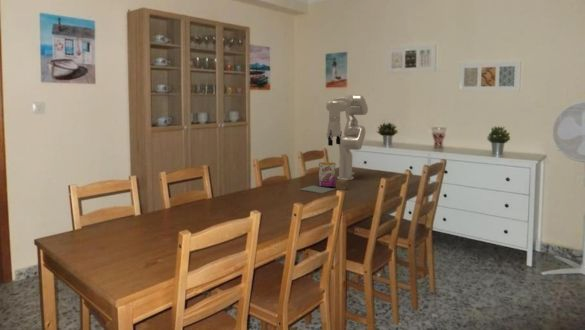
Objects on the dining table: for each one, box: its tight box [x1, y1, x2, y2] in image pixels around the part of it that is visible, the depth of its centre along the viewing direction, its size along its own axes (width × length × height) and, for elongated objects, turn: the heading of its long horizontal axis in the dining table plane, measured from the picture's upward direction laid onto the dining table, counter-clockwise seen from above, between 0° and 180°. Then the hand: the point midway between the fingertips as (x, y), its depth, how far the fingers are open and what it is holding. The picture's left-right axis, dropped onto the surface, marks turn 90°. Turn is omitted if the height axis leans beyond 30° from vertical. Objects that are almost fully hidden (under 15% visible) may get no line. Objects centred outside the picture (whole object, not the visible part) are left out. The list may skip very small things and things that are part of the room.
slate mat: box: [299, 185, 336, 195], centre depth 290 cm, size 15×18×1 cm
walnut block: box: [335, 179, 348, 191], centre depth 293 cm, size 6×6×6 cm
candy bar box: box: [317, 161, 336, 188], centre depth 299 cm, size 11×5×16 cm, turn 85°
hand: (334, 144), depth 302 cm, fingers open, 9 cm apart
